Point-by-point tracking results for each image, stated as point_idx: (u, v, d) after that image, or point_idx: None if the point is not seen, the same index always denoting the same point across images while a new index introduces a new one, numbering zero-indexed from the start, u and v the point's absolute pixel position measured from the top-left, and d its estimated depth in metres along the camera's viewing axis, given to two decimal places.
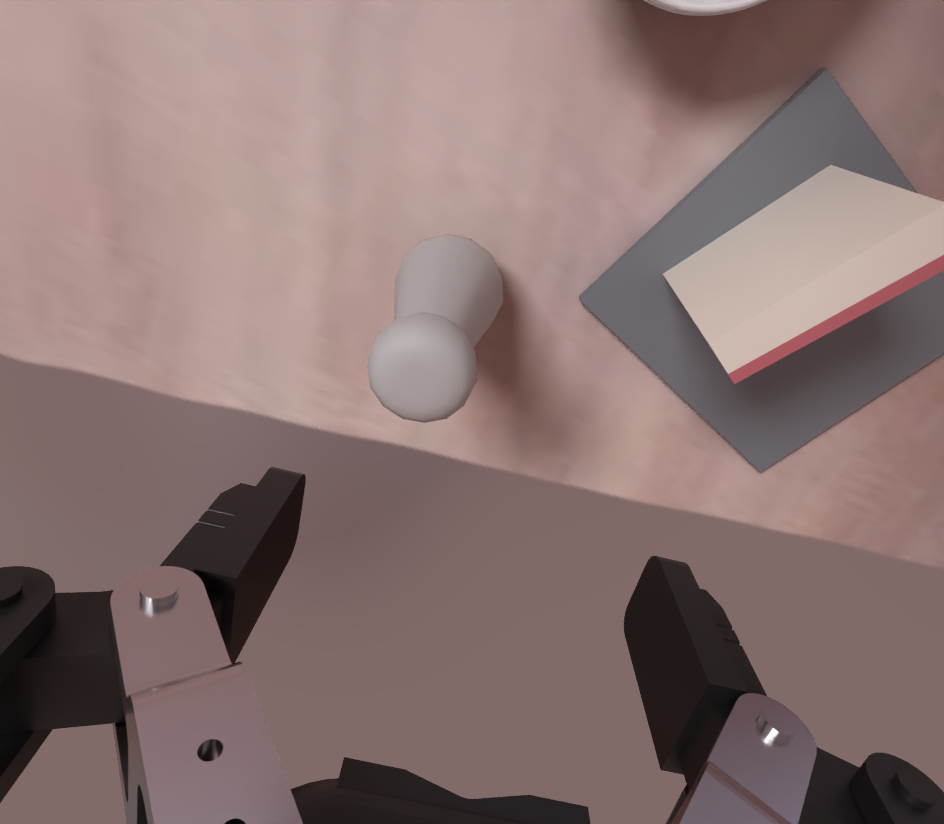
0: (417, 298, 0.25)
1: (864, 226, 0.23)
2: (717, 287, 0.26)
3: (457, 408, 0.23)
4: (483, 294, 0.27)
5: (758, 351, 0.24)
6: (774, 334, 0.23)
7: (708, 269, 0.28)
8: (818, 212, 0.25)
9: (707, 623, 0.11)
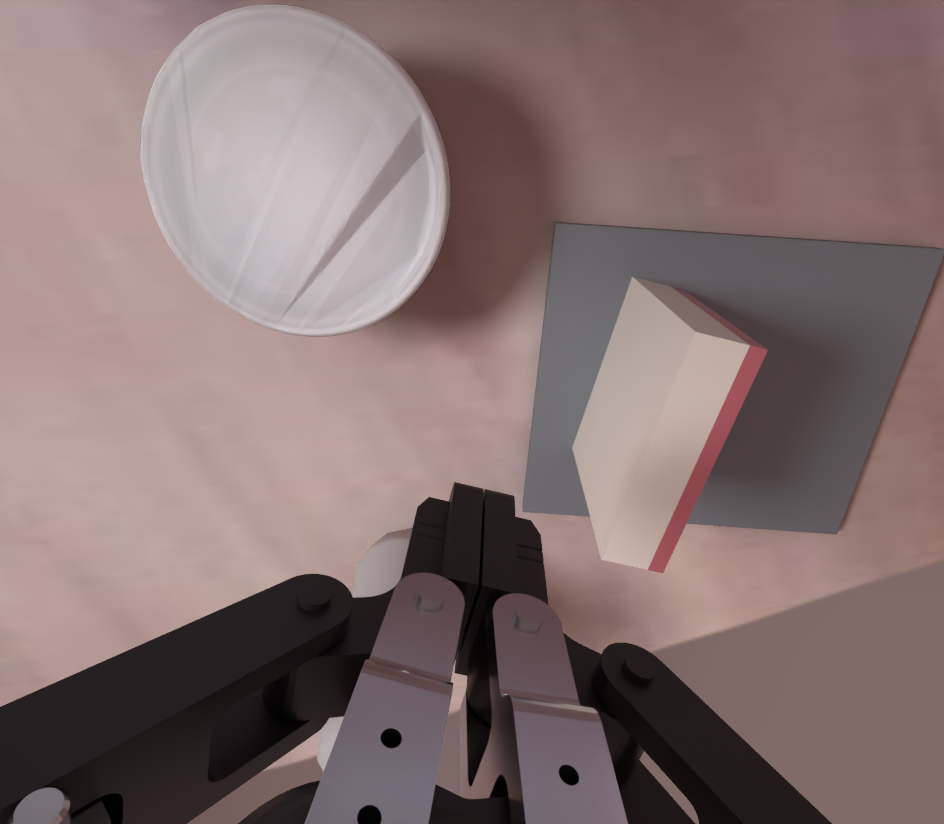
0: None
1: (658, 371, 0.20)
2: (598, 470, 0.24)
3: None
4: None
5: (655, 537, 0.21)
6: (654, 517, 0.21)
7: (591, 442, 0.26)
8: (633, 351, 0.23)
9: (507, 541, 0.12)
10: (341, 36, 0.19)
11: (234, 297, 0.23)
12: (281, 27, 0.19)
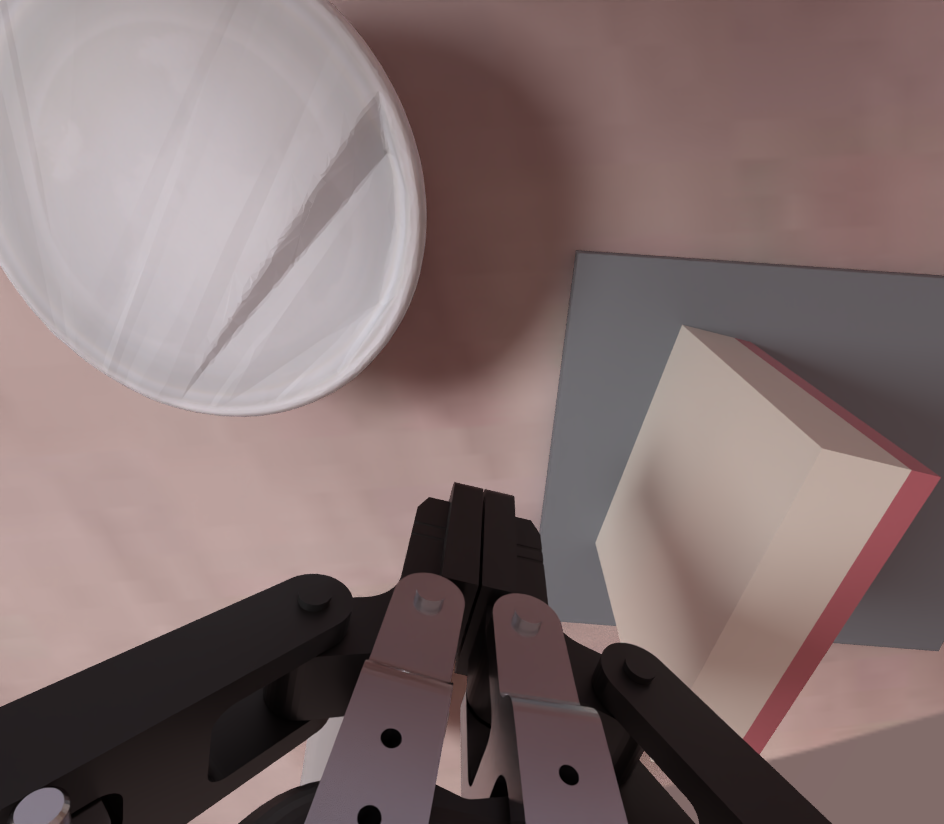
0: None
1: (742, 490, 0.13)
2: (638, 602, 0.17)
3: None
4: None
5: None
6: (735, 709, 0.14)
7: (625, 549, 0.19)
8: (692, 438, 0.16)
9: (507, 541, 0.12)
10: None
11: (115, 363, 0.16)
12: None
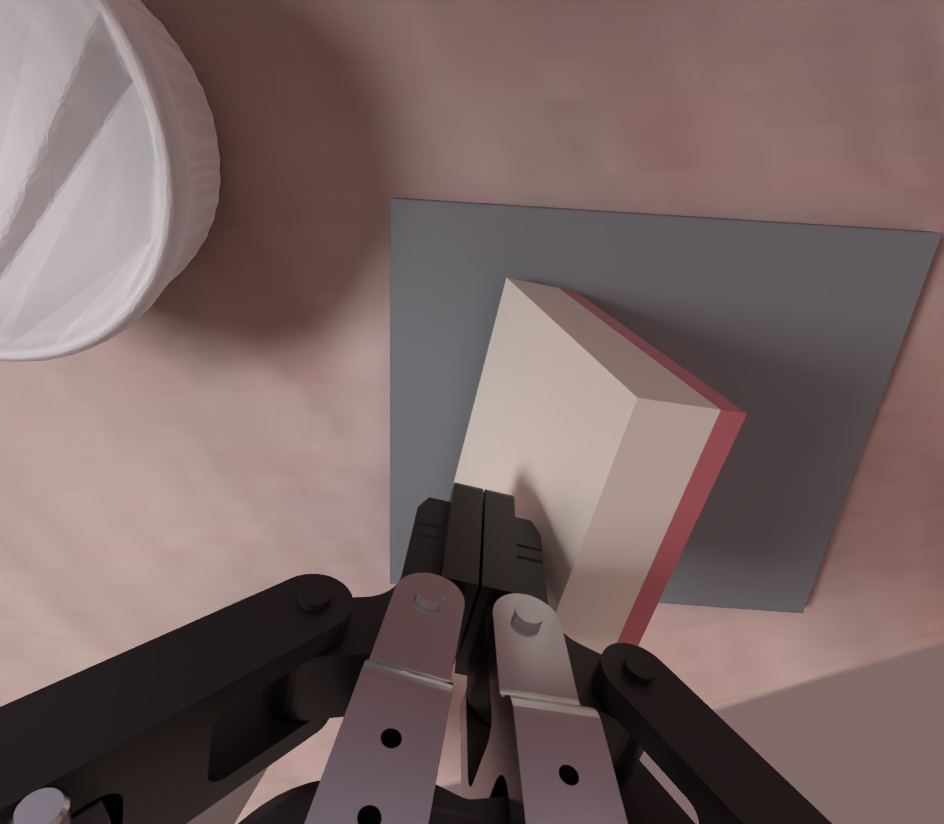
0: None
1: (570, 446, 0.13)
2: None
3: None
4: None
5: None
6: None
7: None
8: (523, 396, 0.16)
9: (507, 541, 0.12)
10: None
11: None
12: None
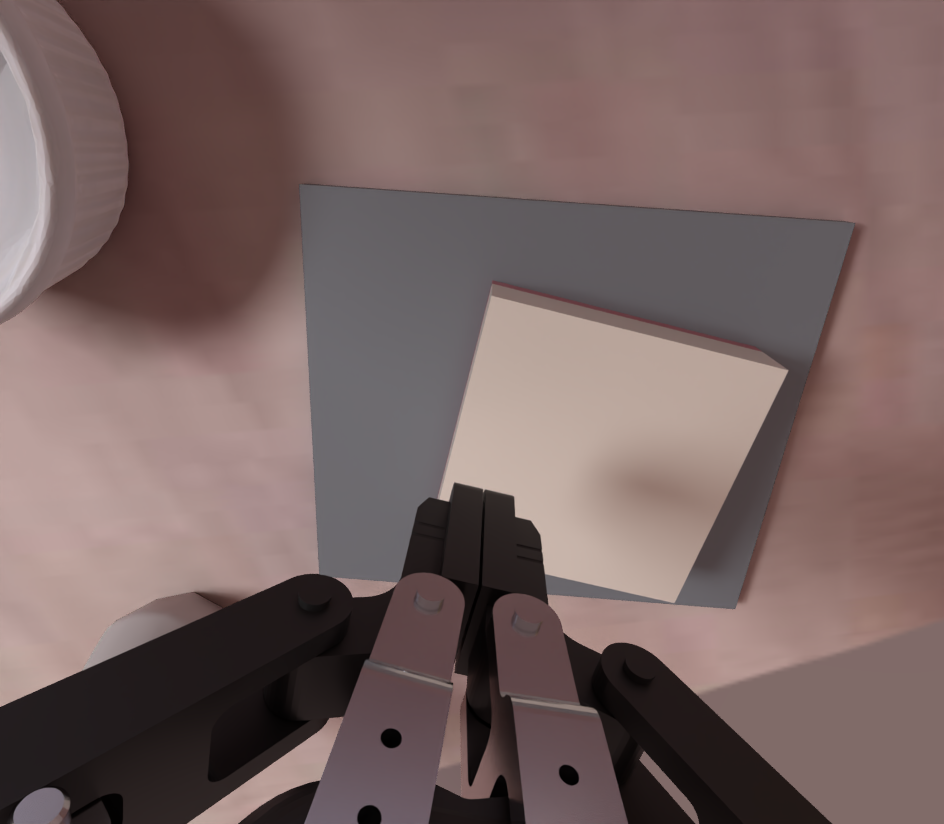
0: None
1: (706, 416, 0.18)
2: (582, 542, 0.20)
3: None
4: None
5: None
6: None
7: None
8: (599, 401, 0.18)
9: (507, 541, 0.12)
10: None
11: None
12: None
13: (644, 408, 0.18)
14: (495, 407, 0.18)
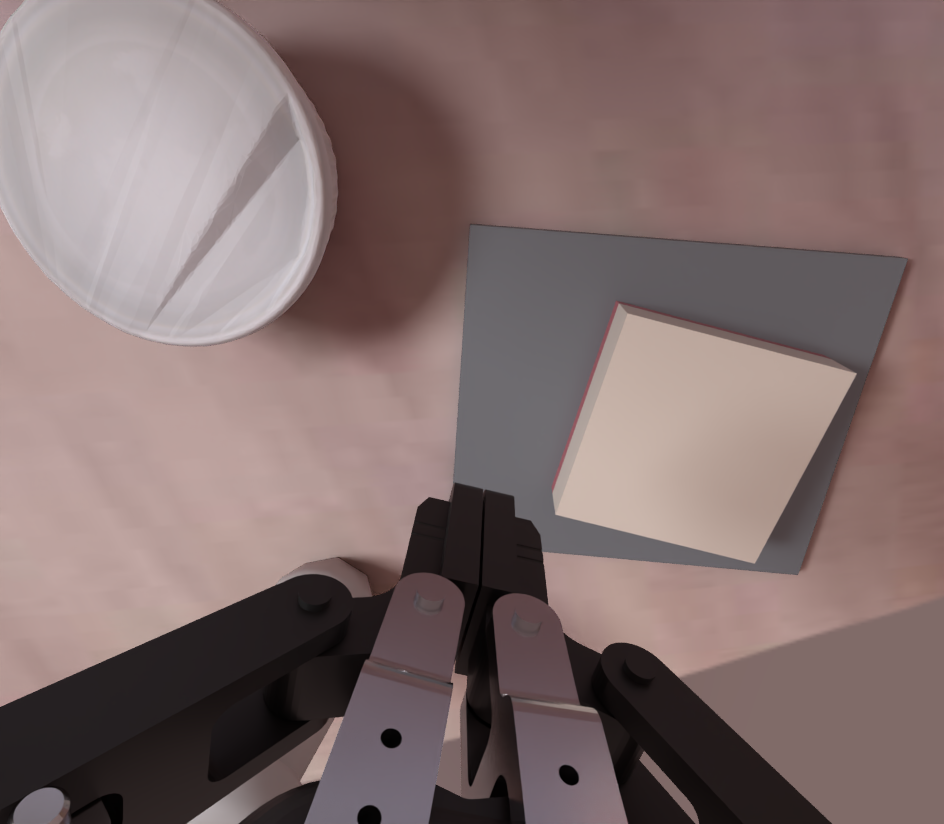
0: None
1: (790, 409, 0.22)
2: (683, 511, 0.24)
3: None
4: None
5: None
6: None
7: (633, 494, 0.24)
8: (705, 396, 0.22)
9: (507, 541, 0.12)
10: (191, 5, 0.17)
11: (95, 301, 0.20)
12: None
13: (741, 402, 0.22)
14: (622, 400, 0.23)
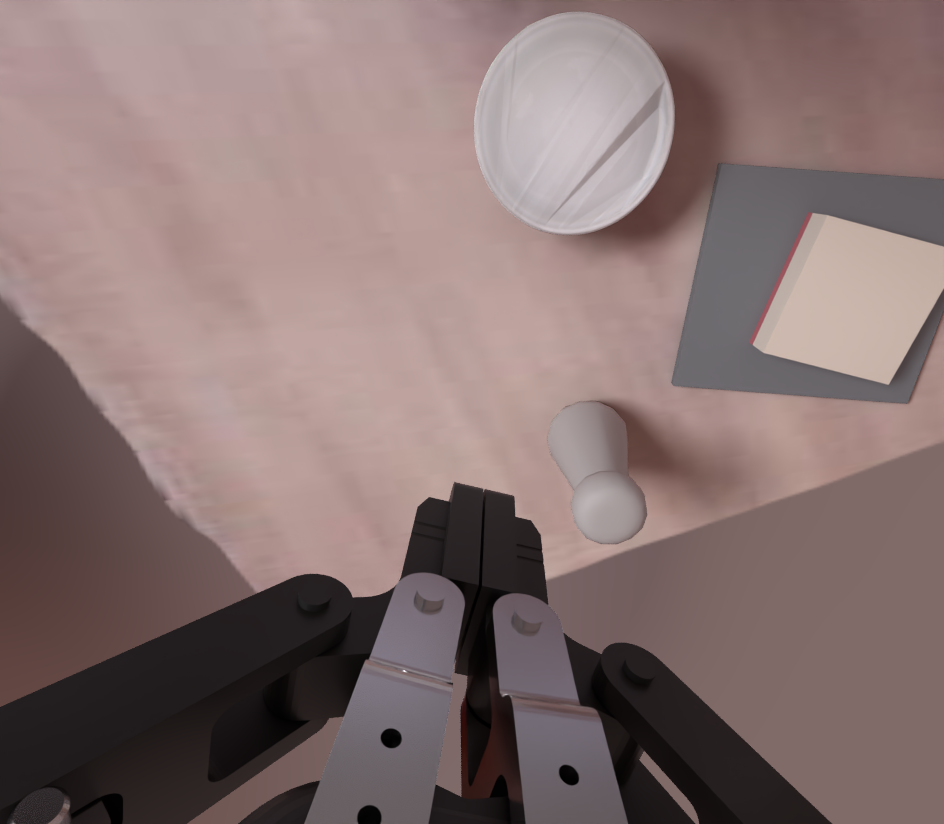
0: (576, 466, 0.37)
1: (921, 277, 0.36)
2: (846, 348, 0.38)
3: (644, 518, 0.33)
4: (610, 433, 0.39)
5: None
6: None
7: (815, 337, 0.38)
8: (869, 269, 0.36)
9: (507, 541, 0.12)
10: (621, 31, 0.30)
11: (518, 206, 0.34)
12: (584, 26, 0.30)
13: (891, 272, 0.36)
14: (817, 272, 0.37)
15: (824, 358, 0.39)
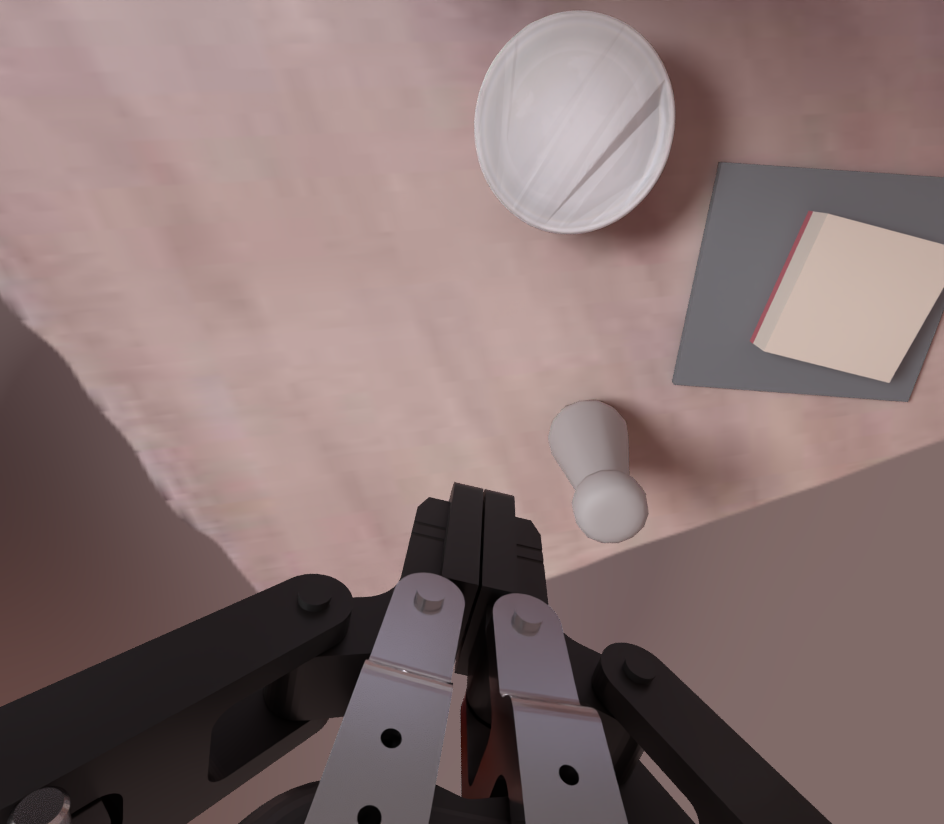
0: (577, 465, 0.37)
1: (921, 275, 0.36)
2: (847, 346, 0.38)
3: (646, 517, 0.33)
4: (611, 432, 0.39)
5: None
6: None
7: (816, 335, 0.38)
8: (869, 267, 0.36)
9: (507, 541, 0.12)
10: (621, 30, 0.30)
11: (519, 205, 0.34)
12: (584, 24, 0.30)
13: (891, 271, 0.36)
14: (817, 271, 0.37)
15: (825, 356, 0.39)
